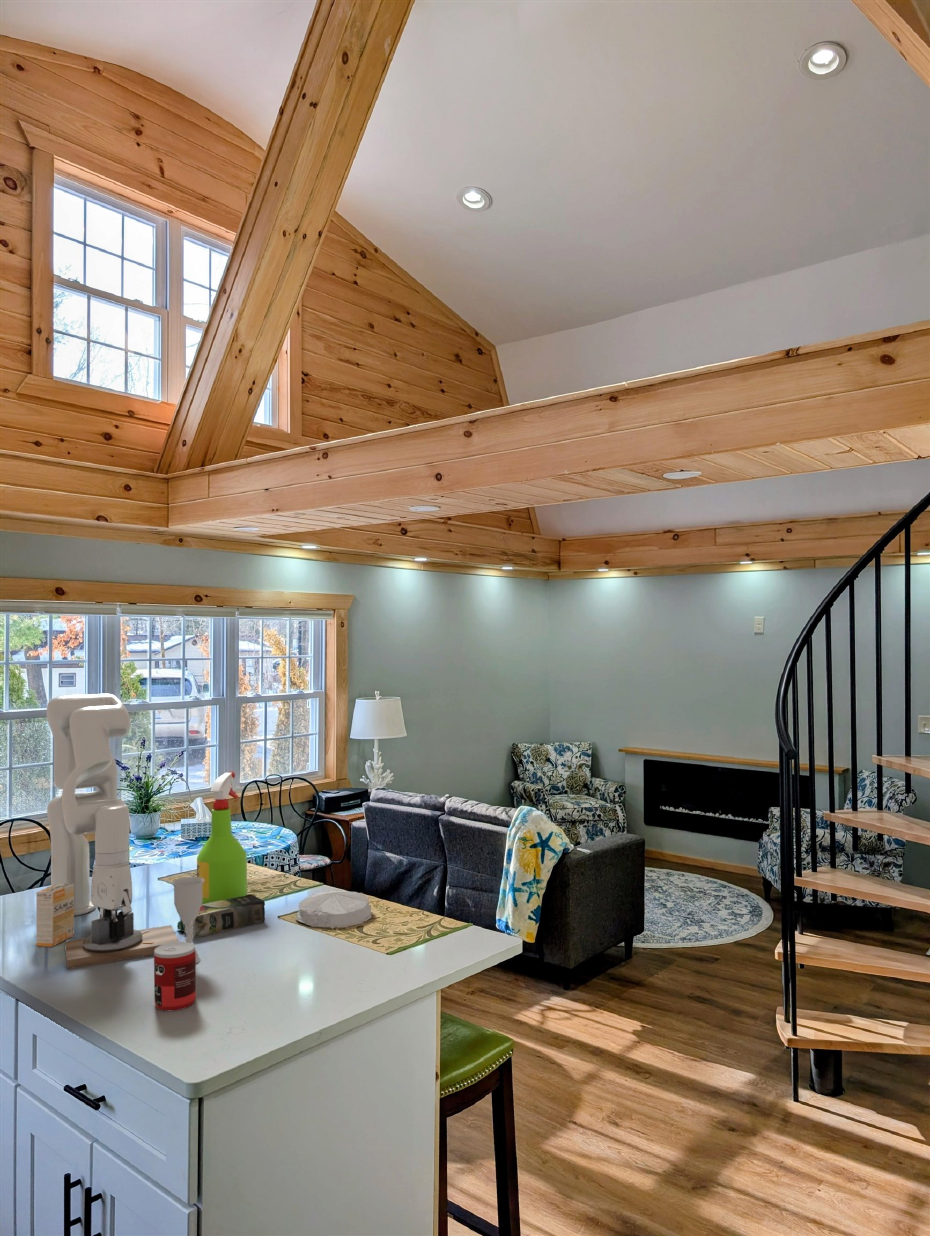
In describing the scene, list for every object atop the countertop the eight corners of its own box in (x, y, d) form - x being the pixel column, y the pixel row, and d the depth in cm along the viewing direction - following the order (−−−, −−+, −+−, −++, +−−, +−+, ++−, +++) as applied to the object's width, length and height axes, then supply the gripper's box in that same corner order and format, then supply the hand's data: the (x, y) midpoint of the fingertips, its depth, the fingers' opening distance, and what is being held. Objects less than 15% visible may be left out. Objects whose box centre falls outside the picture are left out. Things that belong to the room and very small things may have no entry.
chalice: (211, 957, 199) (210, 878, 199) (193, 968, 192) (192, 886, 193) (184, 954, 201) (184, 876, 202) (165, 964, 195) (165, 884, 195)
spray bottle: (260, 888, 255) (259, 769, 256) (235, 907, 237) (234, 778, 238) (216, 887, 256) (215, 769, 257) (188, 906, 238) (187, 778, 239)
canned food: (160, 996, 177) (159, 942, 177) (199, 994, 178) (199, 940, 178) (149, 1012, 169) (149, 955, 170) (191, 1010, 170) (190, 953, 170)
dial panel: (65, 949, 206) (65, 940, 206) (171, 933, 216) (171, 924, 216) (67, 969, 193) (67, 959, 193) (179, 950, 204) (179, 941, 204)
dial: (104, 956, 195) (104, 928, 195) (71, 945, 202) (71, 919, 202) (153, 939, 206) (153, 913, 206) (120, 929, 213) (120, 904, 213)
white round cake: (375, 905, 238) (374, 880, 238) (369, 928, 218) (368, 901, 218) (301, 908, 237) (301, 883, 238) (289, 931, 217) (289, 904, 218)
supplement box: (53, 947, 207) (52, 892, 208) (35, 946, 208) (35, 891, 209) (75, 936, 215) (75, 883, 216) (58, 935, 216) (57, 882, 217)
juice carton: (188, 940, 211) (188, 915, 211) (175, 931, 219) (175, 906, 219) (265, 924, 223) (265, 900, 223) (250, 915, 231) (250, 892, 231)
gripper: (77, 857, 206) (78, 935, 205) (119, 866, 197) (119, 947, 196) (106, 850, 212) (106, 926, 211) (147, 858, 203) (148, 938, 202)
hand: (112, 935), depth 204 cm, fingers closed on dial, 3 cm apart
